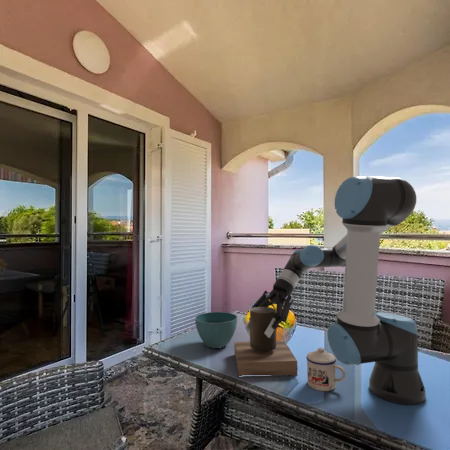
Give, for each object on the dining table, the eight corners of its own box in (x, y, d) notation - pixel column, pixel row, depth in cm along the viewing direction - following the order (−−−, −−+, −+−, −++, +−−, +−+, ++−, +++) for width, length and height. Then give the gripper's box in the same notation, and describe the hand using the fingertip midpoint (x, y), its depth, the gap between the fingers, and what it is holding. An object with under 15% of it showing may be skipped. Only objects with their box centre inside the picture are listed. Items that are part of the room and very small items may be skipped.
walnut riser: (297, 375, 111) (297, 360, 111) (238, 377, 110) (238, 362, 110) (284, 353, 131) (283, 340, 131) (234, 354, 130) (234, 342, 130)
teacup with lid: (302, 387, 103) (301, 349, 103) (312, 376, 110) (312, 341, 110) (341, 397, 96) (340, 358, 96) (349, 385, 103) (348, 348, 104)
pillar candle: (269, 353, 114) (269, 310, 114) (245, 348, 119) (245, 307, 119) (280, 345, 122) (280, 304, 122) (257, 340, 127) (256, 302, 127)
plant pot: (186, 348, 137) (186, 319, 137) (209, 336, 153) (209, 309, 153) (224, 356, 128) (224, 325, 128) (244, 342, 144) (244, 314, 144)
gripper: (313, 293, 121) (285, 346, 111) (270, 285, 139) (242, 330, 129) (303, 281, 118) (273, 333, 108) (261, 274, 136) (232, 319, 126)
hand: (256, 332), depth 119 cm, fingers closed on pillar candle, 9 cm apart
